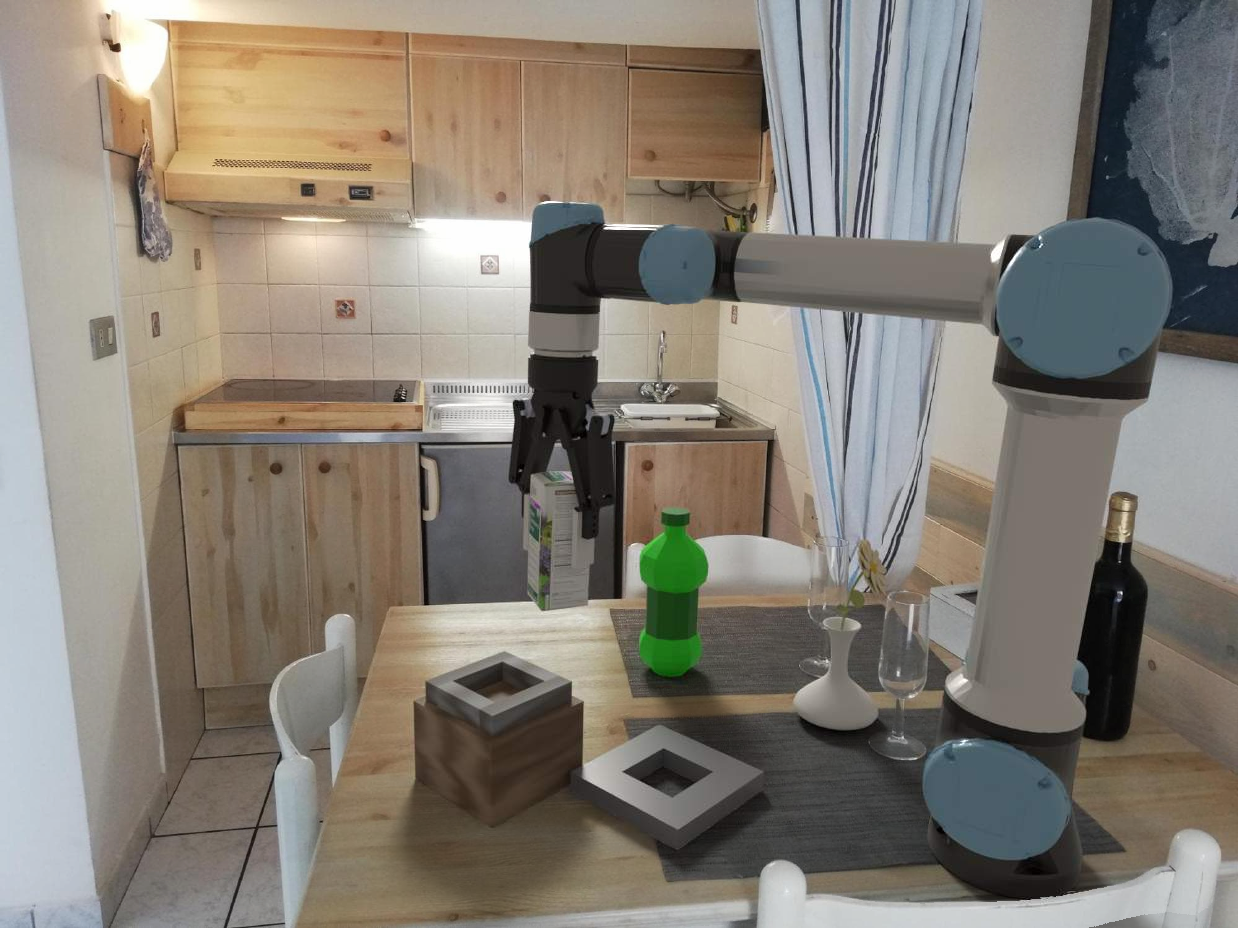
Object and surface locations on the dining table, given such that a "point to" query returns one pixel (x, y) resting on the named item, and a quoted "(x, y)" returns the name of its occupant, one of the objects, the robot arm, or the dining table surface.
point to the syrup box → (554, 544)
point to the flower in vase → (844, 661)
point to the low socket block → (653, 811)
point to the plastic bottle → (672, 596)
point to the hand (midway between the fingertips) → (557, 555)
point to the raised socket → (497, 736)
